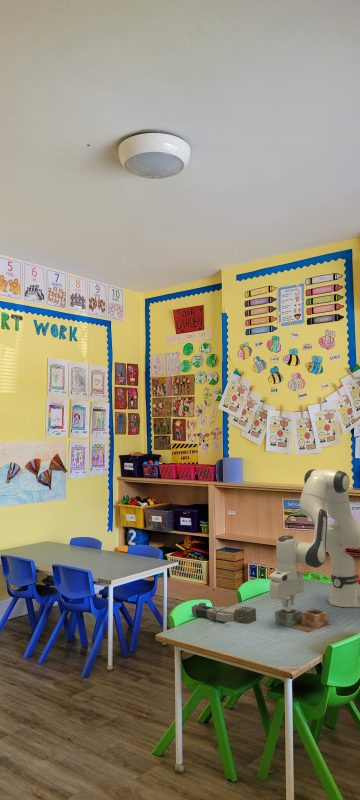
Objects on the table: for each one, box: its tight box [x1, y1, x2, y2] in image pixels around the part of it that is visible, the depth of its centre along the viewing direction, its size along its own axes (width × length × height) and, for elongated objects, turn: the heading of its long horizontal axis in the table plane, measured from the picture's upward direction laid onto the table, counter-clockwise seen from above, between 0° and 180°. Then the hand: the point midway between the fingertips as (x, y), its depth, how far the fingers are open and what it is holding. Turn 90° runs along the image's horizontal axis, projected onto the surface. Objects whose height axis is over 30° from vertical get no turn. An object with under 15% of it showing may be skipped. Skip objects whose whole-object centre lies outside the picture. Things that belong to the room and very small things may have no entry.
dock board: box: [274, 607, 331, 633], centre depth 248 cm, size 16×18×6 cm
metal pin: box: [284, 597, 293, 613], centre depth 249 cm, size 3×3×10 cm
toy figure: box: [191, 602, 257, 625], centre depth 261 cm, size 11×7×30 cm
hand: (288, 606), depth 249 cm, fingers closed on metal pin, 3 cm apart
